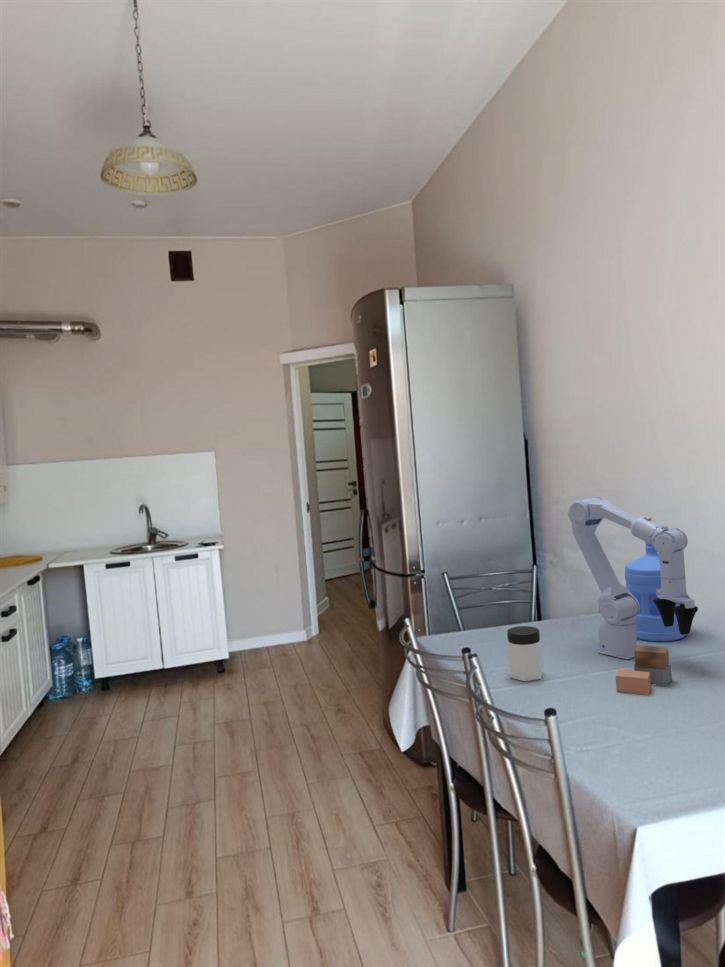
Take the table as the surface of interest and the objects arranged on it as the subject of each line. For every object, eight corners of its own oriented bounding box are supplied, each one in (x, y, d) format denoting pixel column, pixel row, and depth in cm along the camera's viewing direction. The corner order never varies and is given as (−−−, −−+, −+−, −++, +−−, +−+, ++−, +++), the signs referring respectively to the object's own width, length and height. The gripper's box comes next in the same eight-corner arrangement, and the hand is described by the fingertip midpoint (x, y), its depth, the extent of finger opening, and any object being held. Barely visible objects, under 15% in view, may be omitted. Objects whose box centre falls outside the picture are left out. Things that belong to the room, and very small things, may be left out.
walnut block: (635, 667, 160) (633, 650, 160) (638, 661, 164) (637, 645, 163) (666, 669, 156) (665, 653, 156) (669, 663, 160) (667, 647, 160)
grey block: (635, 681, 161) (633, 665, 161) (643, 675, 164) (642, 660, 164) (663, 687, 156) (662, 670, 156) (672, 681, 159) (670, 665, 159)
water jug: (643, 625, 207) (636, 536, 206) (695, 631, 195) (688, 538, 194) (619, 637, 196) (612, 544, 195) (673, 645, 185) (666, 546, 183)
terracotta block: (616, 692, 156) (615, 675, 155) (619, 685, 159) (618, 669, 159) (648, 695, 152) (647, 678, 152) (651, 688, 156) (649, 672, 156)
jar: (513, 669, 177) (509, 625, 177) (544, 670, 174) (541, 625, 174) (508, 681, 169) (504, 634, 168) (540, 682, 166) (536, 635, 165)
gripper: (643, 573, 174) (647, 624, 175) (673, 584, 160) (677, 639, 160) (669, 571, 175) (672, 621, 175) (701, 581, 160) (704, 636, 161)
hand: (676, 629), depth 168 cm, fingers open, 7 cm apart
